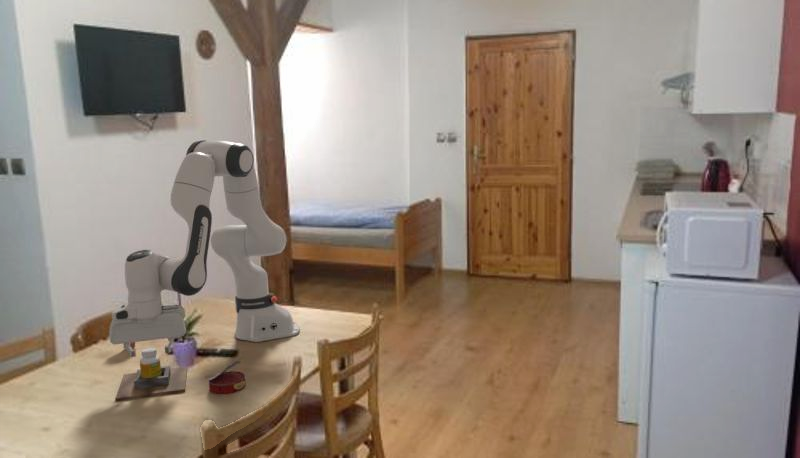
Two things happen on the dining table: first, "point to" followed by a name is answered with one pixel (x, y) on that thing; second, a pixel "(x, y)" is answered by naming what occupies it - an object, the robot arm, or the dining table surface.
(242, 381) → the canned food
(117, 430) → the dining table surface
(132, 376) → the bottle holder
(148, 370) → the supplement bottle
